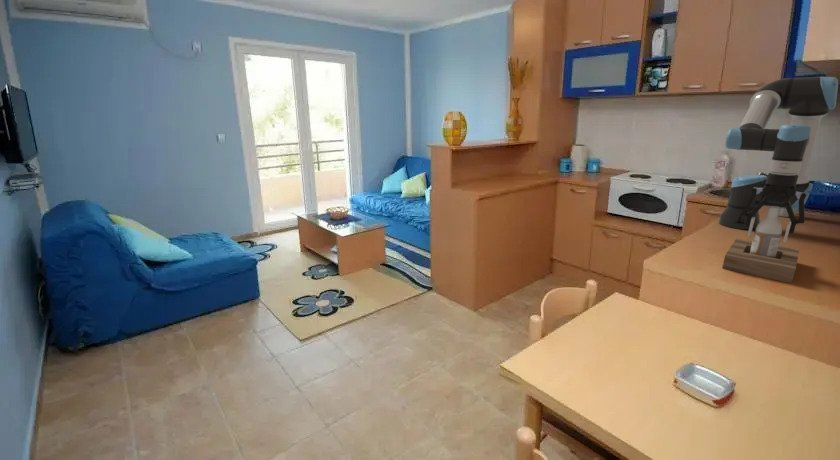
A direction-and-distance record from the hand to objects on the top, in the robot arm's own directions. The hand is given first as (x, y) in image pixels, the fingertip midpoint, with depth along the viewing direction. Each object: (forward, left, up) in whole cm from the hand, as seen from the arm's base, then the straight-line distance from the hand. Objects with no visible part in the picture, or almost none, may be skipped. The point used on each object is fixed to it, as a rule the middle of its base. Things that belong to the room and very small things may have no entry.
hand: (766, 238), depth 139 cm
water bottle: (-75, -52, -10) cm, 92 cm away
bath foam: (0, 0, -9) cm, 9 cm away
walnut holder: (0, 0, -10) cm, 10 cm away
